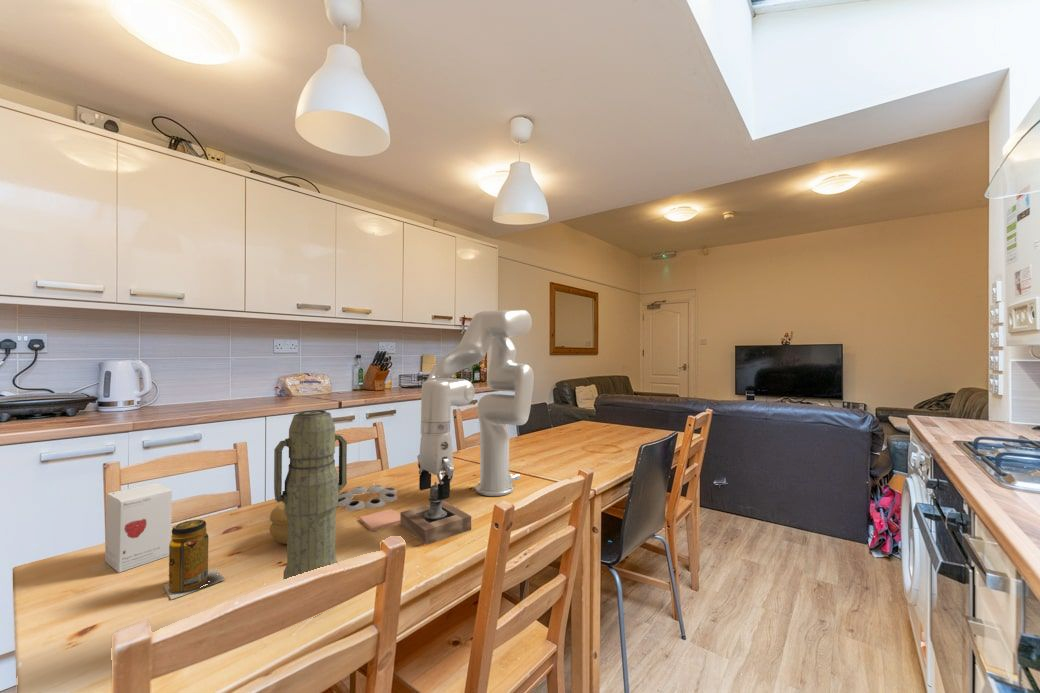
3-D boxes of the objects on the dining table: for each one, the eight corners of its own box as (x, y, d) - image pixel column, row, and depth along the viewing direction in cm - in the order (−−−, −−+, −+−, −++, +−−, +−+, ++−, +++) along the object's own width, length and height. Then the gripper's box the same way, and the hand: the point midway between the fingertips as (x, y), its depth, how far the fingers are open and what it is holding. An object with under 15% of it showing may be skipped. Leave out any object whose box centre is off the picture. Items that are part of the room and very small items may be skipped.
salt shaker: (441, 533, 104) (441, 486, 104) (420, 531, 105) (420, 484, 105) (450, 524, 109) (450, 478, 110) (429, 522, 111) (429, 477, 111)
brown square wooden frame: (443, 512, 117) (443, 500, 117) (471, 529, 106) (471, 516, 106) (400, 525, 108) (400, 512, 108) (425, 545, 98) (425, 530, 98)
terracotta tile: (391, 511, 118) (391, 508, 118) (405, 521, 111) (405, 518, 111) (359, 520, 112) (359, 517, 112) (371, 531, 105) (371, 528, 105)
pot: (330, 540, 100) (330, 499, 100) (274, 556, 92) (275, 511, 92) (316, 524, 109) (316, 486, 109) (264, 537, 101) (265, 497, 101)
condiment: (163, 586, 81) (163, 524, 81) (215, 568, 87) (215, 511, 87) (171, 600, 76) (171, 535, 76) (225, 581, 82) (226, 521, 82)
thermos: (354, 599, 76) (355, 411, 77) (284, 631, 68) (285, 418, 68) (333, 580, 82) (335, 406, 83) (267, 608, 74) (268, 413, 74)
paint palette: (342, 517, 115) (342, 510, 115) (324, 497, 130) (324, 491, 130) (409, 501, 127) (409, 494, 127) (385, 484, 142) (385, 479, 142)
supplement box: (117, 574, 85) (118, 501, 85) (103, 562, 89) (104, 493, 89) (172, 555, 92) (173, 488, 92) (157, 545, 97) (157, 481, 97)
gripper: (465, 430, 103) (464, 499, 102) (432, 422, 116) (430, 483, 116) (439, 434, 98) (437, 506, 98) (407, 424, 111) (405, 488, 111)
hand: (434, 493), depth 107 cm, fingers open, 9 cm apart
